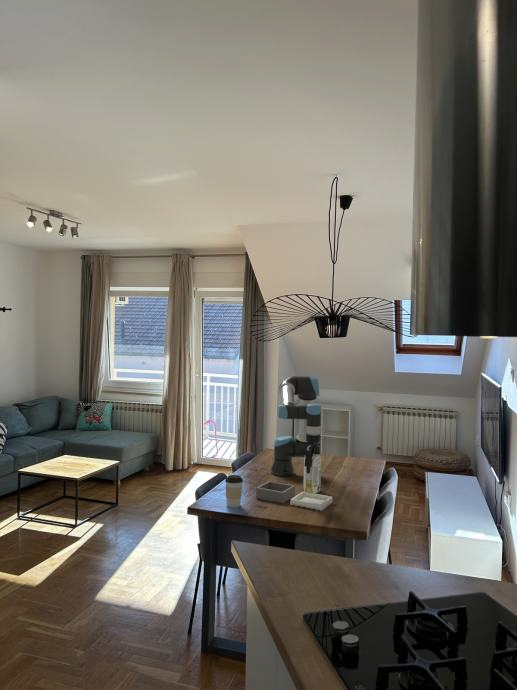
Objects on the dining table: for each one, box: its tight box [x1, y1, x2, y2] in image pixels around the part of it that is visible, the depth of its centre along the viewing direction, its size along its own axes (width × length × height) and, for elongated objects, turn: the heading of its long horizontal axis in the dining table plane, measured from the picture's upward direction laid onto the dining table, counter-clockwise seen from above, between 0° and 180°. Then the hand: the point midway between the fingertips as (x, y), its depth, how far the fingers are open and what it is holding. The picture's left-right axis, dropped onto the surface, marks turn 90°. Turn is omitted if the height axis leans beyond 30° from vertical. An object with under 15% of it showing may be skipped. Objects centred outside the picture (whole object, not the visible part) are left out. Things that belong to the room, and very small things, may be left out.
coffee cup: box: [224, 474, 244, 508], centre depth 250 cm, size 9×9×15 cm
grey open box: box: [255, 480, 296, 504], centre depth 265 cm, size 16×15×6 cm
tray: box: [289, 491, 333, 512], centre depth 255 cm, size 17×16×3 cm
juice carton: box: [302, 454, 322, 494], centre depth 255 cm, size 8×9×19 cm
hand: (312, 477), depth 255 cm, fingers closed on juice carton, 8 cm apart
